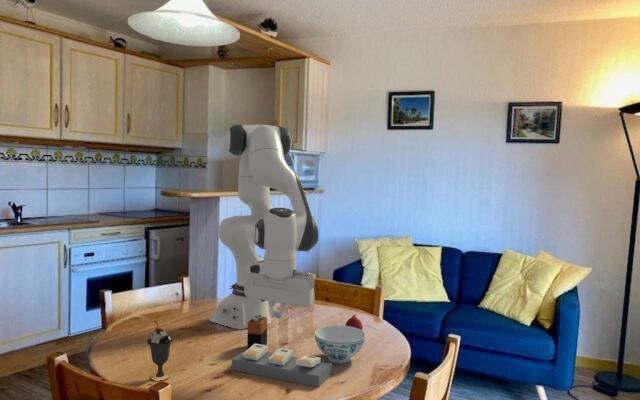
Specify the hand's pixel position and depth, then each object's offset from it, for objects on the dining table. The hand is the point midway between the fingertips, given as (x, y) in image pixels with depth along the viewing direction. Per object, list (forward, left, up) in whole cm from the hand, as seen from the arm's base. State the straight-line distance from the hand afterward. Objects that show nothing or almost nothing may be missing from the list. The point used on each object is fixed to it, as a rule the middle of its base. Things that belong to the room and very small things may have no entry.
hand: (278, 317), depth 134 cm
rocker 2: (+2, -1, -11) cm, 11 cm away
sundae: (-25, -18, -15) cm, 34 cm away
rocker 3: (+10, -1, -11) cm, 15 cm away
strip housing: (+2, -1, -15) cm, 15 cm away
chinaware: (+13, +15, -15) cm, 25 cm away
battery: (-13, +12, -15) cm, 23 cm away
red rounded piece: (+11, +34, -15) cm, 39 cm away
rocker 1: (-6, -1, -11) cm, 13 cm away
